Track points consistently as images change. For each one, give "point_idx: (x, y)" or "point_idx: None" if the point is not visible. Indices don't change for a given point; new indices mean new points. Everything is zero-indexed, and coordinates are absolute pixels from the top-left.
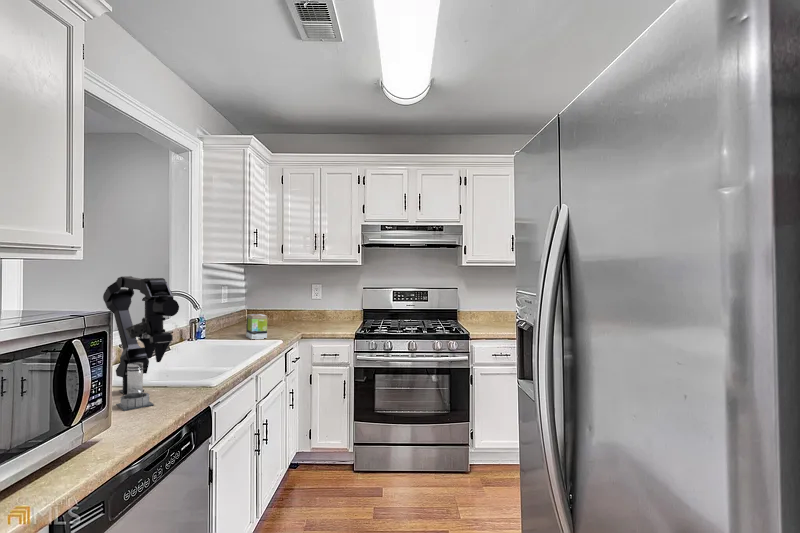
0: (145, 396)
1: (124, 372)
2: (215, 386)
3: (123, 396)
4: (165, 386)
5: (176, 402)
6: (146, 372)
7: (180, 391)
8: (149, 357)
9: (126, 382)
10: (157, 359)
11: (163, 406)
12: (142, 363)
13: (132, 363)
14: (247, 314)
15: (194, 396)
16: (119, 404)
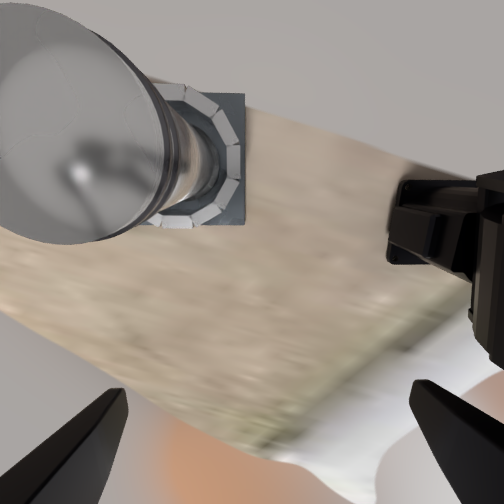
0: None
1: (497, 182)
2: (264, 458)
3: (198, 106)
4: (406, 346)
5: (124, 303)
6: (470, 317)
7: (284, 362)
8: (416, 397)
9: (457, 199)
10: (82, 419)
11: (91, 249)
12: (10, 229)
13: (93, 111)
14: None
15: (172, 373)
16: (219, 101)
